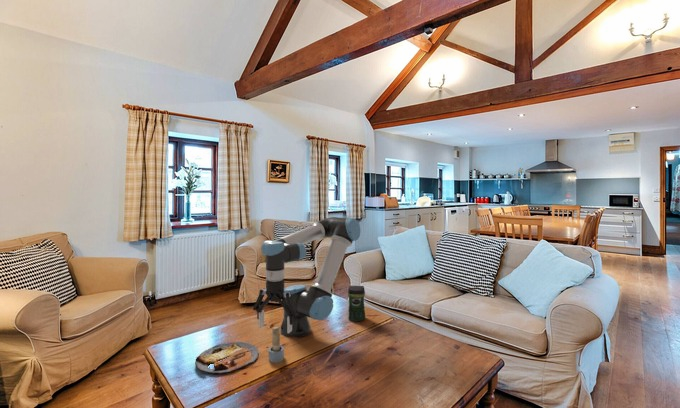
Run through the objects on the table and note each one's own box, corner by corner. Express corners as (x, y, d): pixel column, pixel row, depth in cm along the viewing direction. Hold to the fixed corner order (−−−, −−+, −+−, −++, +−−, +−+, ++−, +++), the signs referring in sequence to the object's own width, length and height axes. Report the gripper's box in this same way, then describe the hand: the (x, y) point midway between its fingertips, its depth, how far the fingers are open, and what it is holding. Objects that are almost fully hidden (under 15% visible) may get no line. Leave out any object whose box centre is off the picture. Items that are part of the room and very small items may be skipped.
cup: (273, 355, 136) (273, 344, 136) (286, 357, 134) (286, 346, 134) (265, 362, 130) (265, 351, 130) (278, 365, 128) (278, 353, 128)
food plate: (210, 384, 116) (210, 375, 116) (186, 361, 132) (186, 353, 132) (268, 360, 134) (268, 351, 134) (240, 342, 150) (240, 335, 150)
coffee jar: (365, 316, 178) (365, 284, 177) (365, 322, 170) (365, 288, 169) (348, 315, 179) (348, 283, 178) (347, 321, 171) (347, 287, 170)
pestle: (275, 356, 134) (274, 326, 134) (281, 357, 133) (280, 327, 133) (271, 359, 131) (270, 329, 131) (277, 360, 130) (277, 330, 130)
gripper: (244, 278, 131) (244, 328, 132) (297, 284, 123) (297, 337, 124) (254, 274, 138) (255, 321, 139) (306, 279, 130) (306, 330, 131)
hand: (275, 329), depth 131 cm, fingers open, 13 cm apart
